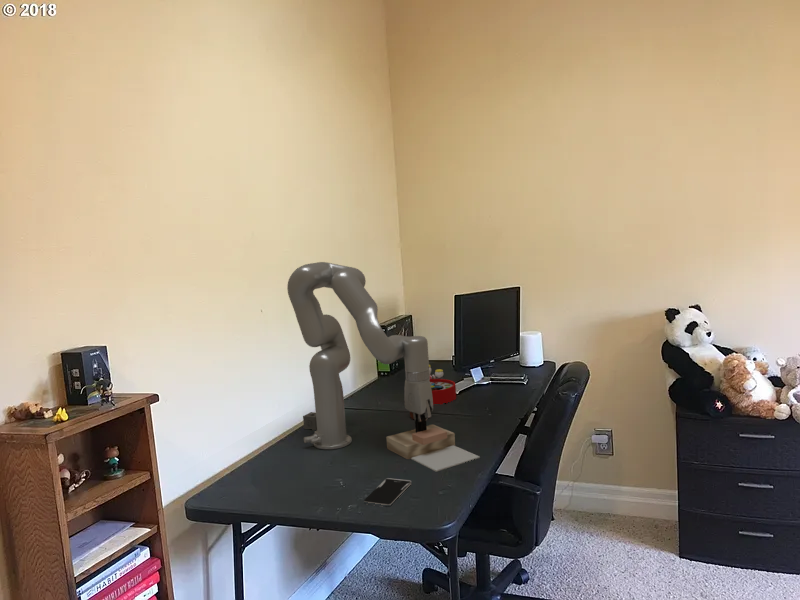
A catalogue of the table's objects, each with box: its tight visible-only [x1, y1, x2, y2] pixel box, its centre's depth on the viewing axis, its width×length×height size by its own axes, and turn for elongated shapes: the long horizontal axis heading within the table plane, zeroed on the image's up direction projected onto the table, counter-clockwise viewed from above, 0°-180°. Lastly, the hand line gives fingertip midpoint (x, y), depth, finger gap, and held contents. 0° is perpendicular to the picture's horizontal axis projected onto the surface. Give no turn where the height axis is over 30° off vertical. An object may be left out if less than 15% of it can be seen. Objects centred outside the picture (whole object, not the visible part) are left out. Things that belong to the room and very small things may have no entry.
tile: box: [412, 427, 447, 445], centre depth 194 cm, size 9×6×2 cm, turn 123°
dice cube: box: [302, 411, 317, 431], centre depth 226 cm, size 5×5×5 cm
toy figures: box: [429, 364, 446, 379], centre depth 280 cm, size 12×4×8 cm, turn 70°
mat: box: [411, 445, 481, 473], centre depth 188 cm, size 16×13×1 cm
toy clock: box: [429, 378, 457, 406], centre depth 254 cm, size 20×6×20 cm
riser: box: [385, 424, 456, 460], centre depth 199 cm, size 18×12×4 cm, turn 122°
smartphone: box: [363, 477, 412, 505], centre depth 166 cm, size 8×1×15 cm
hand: (421, 432), depth 198 cm, fingers closed
